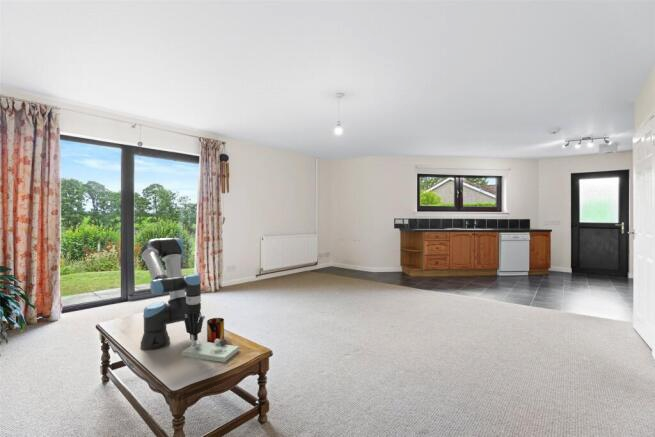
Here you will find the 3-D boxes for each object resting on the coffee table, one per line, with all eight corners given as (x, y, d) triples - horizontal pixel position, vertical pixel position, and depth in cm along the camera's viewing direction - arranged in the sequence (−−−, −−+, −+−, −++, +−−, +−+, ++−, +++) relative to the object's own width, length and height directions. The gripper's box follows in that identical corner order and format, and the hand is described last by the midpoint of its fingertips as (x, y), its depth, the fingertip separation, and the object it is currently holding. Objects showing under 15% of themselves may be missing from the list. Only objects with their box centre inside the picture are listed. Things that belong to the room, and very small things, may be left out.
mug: (214, 347, 186) (213, 326, 186) (204, 339, 197) (204, 320, 196) (230, 342, 193) (229, 322, 193) (219, 335, 203) (219, 316, 203)
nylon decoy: (214, 338, 183) (219, 340, 182) (217, 337, 186) (222, 339, 185) (212, 343, 183) (217, 346, 182) (215, 342, 186) (220, 344, 185)
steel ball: (193, 349, 177) (193, 343, 177) (197, 346, 180) (197, 341, 180) (198, 350, 176) (198, 345, 176) (202, 348, 180) (202, 342, 179)
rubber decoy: (218, 345, 182) (219, 339, 182) (221, 343, 185) (222, 338, 185) (223, 347, 181) (224, 341, 181) (226, 345, 184) (227, 339, 184)
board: (182, 355, 175) (181, 351, 175) (198, 345, 189) (198, 340, 189) (224, 362, 168) (224, 357, 168) (238, 350, 182) (238, 346, 182)
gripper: (178, 304, 176) (179, 347, 177) (199, 305, 173) (199, 350, 173) (188, 300, 183) (188, 341, 184) (207, 302, 180) (208, 344, 180)
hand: (193, 345), depth 179 cm, fingers closed
